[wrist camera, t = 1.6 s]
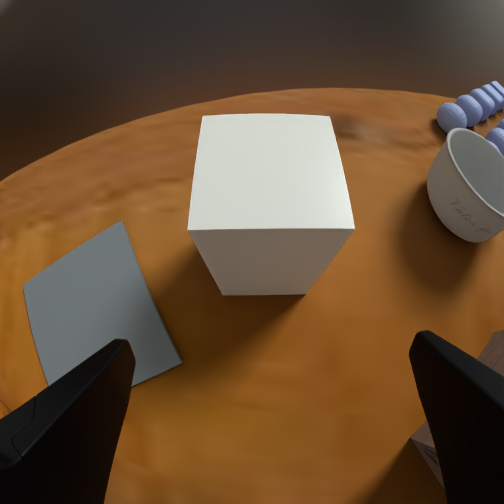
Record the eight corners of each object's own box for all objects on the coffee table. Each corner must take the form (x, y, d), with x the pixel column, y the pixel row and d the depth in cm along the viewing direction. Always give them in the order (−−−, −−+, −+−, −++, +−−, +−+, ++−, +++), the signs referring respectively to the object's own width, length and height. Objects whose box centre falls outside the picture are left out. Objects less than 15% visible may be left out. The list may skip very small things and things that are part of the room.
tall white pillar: (306, 294, 22) (354, 228, 11) (222, 295, 22) (187, 230, 11) (300, 219, 24) (329, 116, 13) (225, 220, 24) (202, 116, 13)
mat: (183, 362, 20) (181, 362, 20) (63, 414, 18) (60, 414, 17) (123, 222, 24) (121, 220, 24) (25, 286, 22) (22, 285, 22)
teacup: (420, 243, 23) (466, 202, 16) (408, 158, 27) (437, 110, 20) (504, 263, 22) (548, 236, 15) (488, 187, 26) (520, 153, 18)
